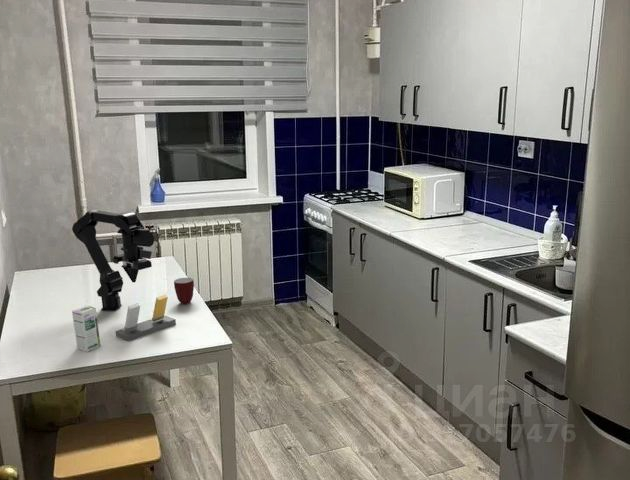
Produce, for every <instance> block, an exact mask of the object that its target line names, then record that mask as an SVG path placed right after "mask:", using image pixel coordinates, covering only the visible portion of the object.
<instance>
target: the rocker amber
mask: <svg viewBox="0 0 630 480" xmlns="http://www.w3.org/2000/svg"><path fill="white" fill-rule="evenodd" d="M168 299H169V298H168V296H167V295H166V294H164V295H161V296H157V297H156V299H155V303H154V308H153V309H154V310H153V314H152V317H151V319H152V321H153V322H154V321H157V320H160V319H163V318H164V315H165V313H166V307H167V302H168Z"/></svg>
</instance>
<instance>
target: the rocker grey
mask: <svg viewBox="0 0 630 480" xmlns="http://www.w3.org/2000/svg"><path fill="white" fill-rule="evenodd" d="M126 310H127V312H126V316H125V317H126V318H125V324H124V325H125V326H124V330H125V331H129V330H131V329H134V328H137V324H138V323H139V321H138V320H139V316H140V310H141V305H140V304H139V303H134V304H131V305H128V306H127V309H126Z"/></svg>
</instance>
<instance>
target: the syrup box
mask: <svg viewBox="0 0 630 480" xmlns="http://www.w3.org/2000/svg"><path fill="white" fill-rule="evenodd" d="M71 314H72V323H73V327H74V335H75V341H76V342H75V343H76V348H77V350H80V351H84V352H89V351H91V350H93V349H94V350H95V349H96V348H99V347H101V346H102V345H101V339H100V330H99V325H98V317H97V308H96V307H94V306H91V305H84V306H81V307H79V308H76V309H72V310H71Z"/></svg>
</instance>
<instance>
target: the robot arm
mask: <svg viewBox="0 0 630 480" xmlns="http://www.w3.org/2000/svg"><path fill="white" fill-rule="evenodd" d="M99 223H103V224H112V225H114V226H115V227H117V228H119V229H118V231H117V232H116V233H117V234H121V240H122V241H121V243H122V246H121V247H120V251H123V253H122V254H116V255H114V256H113V257H112V262H113V264H116V265H117V264H119V262H121V263H122V265H121V268H122V269H123V270H124V272H125V273H126V274H127V276H128V278H129V279H130V280H131V282H132V283H136V282H137V277H138V274H139V271H142V270H145V269H149V268H152V267H153V265H152V261H151V259H152V253H153V252H152V250H146V249H144V247H146V248H147V247H148V248H151V247H152V246H153V245H154V243H155V236H154V234H153V233H152V232H151V230H150V229H149V228H145V226H144V225H143V223H142V222H141V221H140V219H139V217H138V215H137V214H136V213H135V212H133V211H132V212H129V211H128V212H121V213H115V212H110V211H104V210H103V211H102V210H99V209H93V210H88V211H87V212H85V213H84V215H83V216H82V217H80V218H79V219H78V220H76V222H74V223H73V225H72V228H71V230H72V232H73V234H74V236H75V237H76V239H77V240H79V241H80V242H82V243H83V244H84V246H85V247H86V249H87V252H88V254H89V256H90V257H91V259H92V261H93V263H94V265H95V267H96V269H97V271H98V273H99V284H100V287H99V288H98V289H97V290H96V294H97V297H100V298H101V305H102V307H101V309H100V311H117V310H118V309H120V307H122V306H123V305H122V304H121V303H122V302H121V296H120V295H119V293H121V292H122V289H123V287H124V286H123V285H124V280H123V277H122V275H121V273H120V271H119V270H114V269H113V268H112V267H111V265H110V264H109V261H108V259H107V258H106V255H105V254H104V251H103V250H102V247H101V245H100V244H99V241H98V240H97V230H96V226H97V225H98V224H99Z"/></svg>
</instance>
